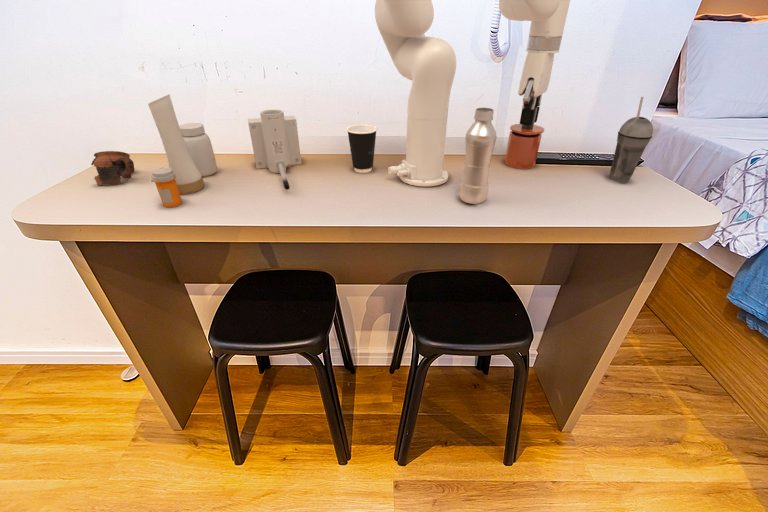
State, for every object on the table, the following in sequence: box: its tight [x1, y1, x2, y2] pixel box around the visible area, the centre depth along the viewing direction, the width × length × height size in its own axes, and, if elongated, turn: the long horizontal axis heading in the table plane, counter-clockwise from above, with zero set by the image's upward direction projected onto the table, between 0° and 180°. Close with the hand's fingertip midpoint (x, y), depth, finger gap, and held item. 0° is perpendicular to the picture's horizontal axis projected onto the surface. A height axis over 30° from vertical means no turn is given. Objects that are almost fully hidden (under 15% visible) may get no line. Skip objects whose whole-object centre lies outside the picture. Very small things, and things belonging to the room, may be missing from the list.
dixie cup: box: [345, 124, 378, 174], centre depth 102 cm, size 8×8×11 cm
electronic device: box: [247, 109, 302, 191], centre depth 96 cm, size 12×26×15 cm, turn 18°
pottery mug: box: [90, 150, 136, 186], centre depth 97 cm, size 12×10×8 cm
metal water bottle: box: [458, 107, 498, 205], centre depth 82 cm, size 6×7×20 cm
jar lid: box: [509, 106, 545, 135], centre depth 102 cm, size 9×9×7 cm
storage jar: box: [504, 130, 543, 170], centre depth 106 cm, size 8×8×8 cm
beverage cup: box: [608, 96, 654, 184], centre depth 93 cm, size 7×7×20 cm
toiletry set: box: [147, 94, 218, 209], centre depth 89 cm, size 25×8×20 cm, turn 2°
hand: (528, 122), depth 103 cm, fingers closed on jar lid, 3 cm apart
